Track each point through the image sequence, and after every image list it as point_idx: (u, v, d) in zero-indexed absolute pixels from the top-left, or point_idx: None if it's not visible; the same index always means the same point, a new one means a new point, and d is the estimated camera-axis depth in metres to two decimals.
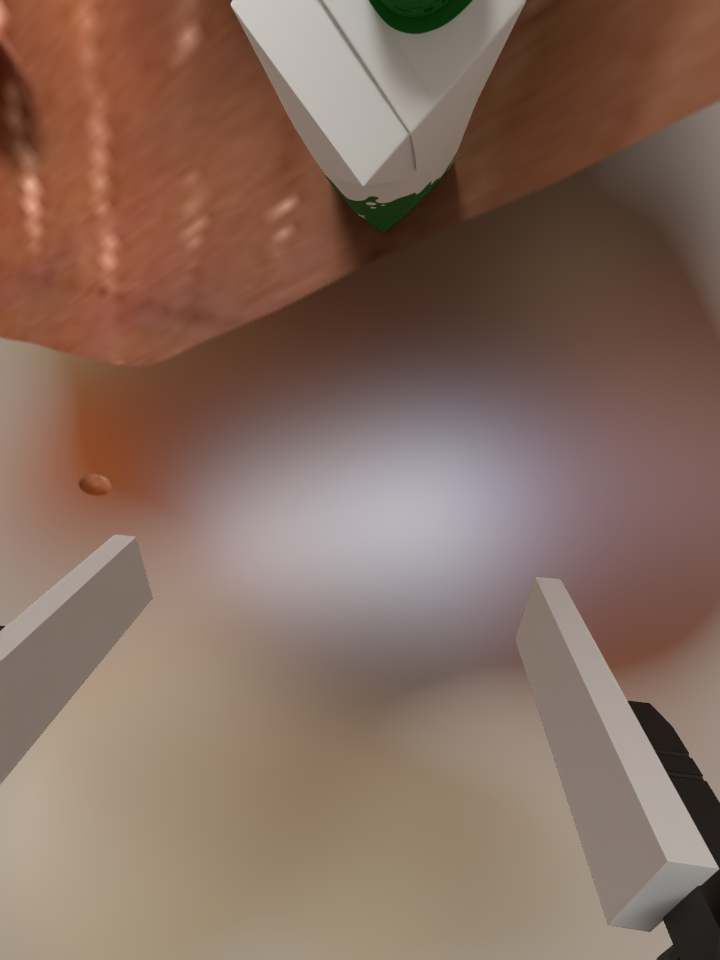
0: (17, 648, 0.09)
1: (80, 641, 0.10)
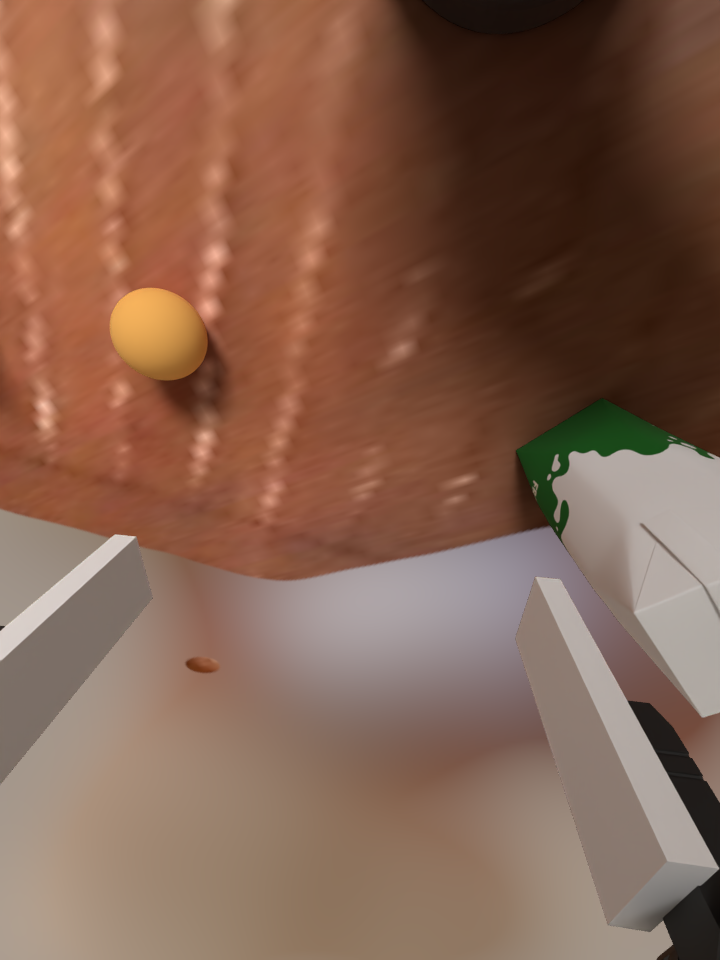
0: (17, 648, 0.09)
1: (80, 641, 0.10)
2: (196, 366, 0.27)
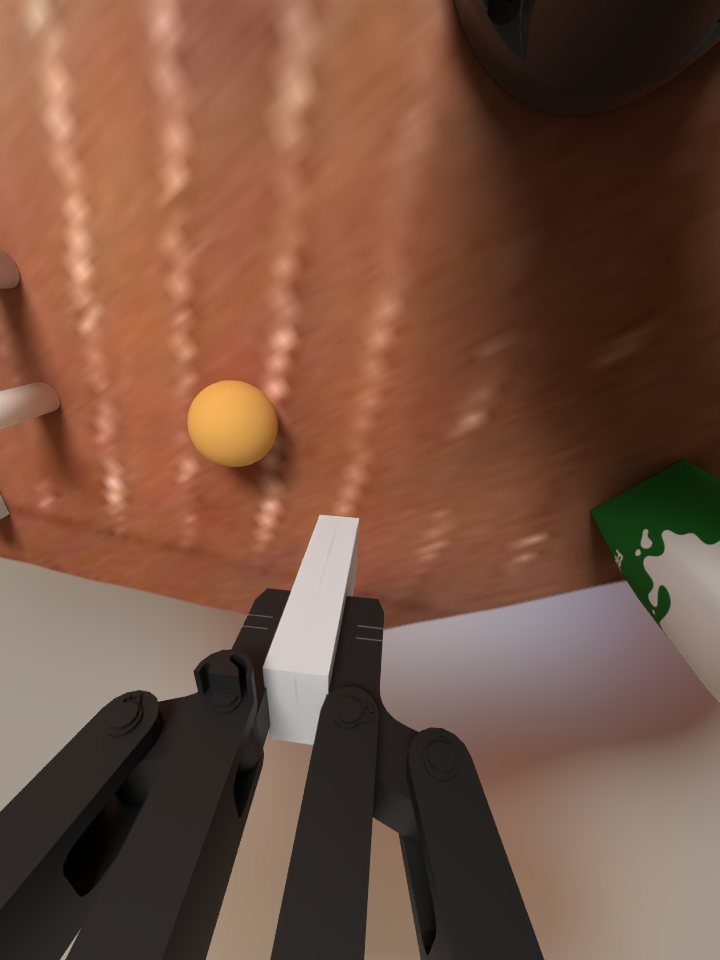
0: None
1: None
2: (268, 450, 0.27)
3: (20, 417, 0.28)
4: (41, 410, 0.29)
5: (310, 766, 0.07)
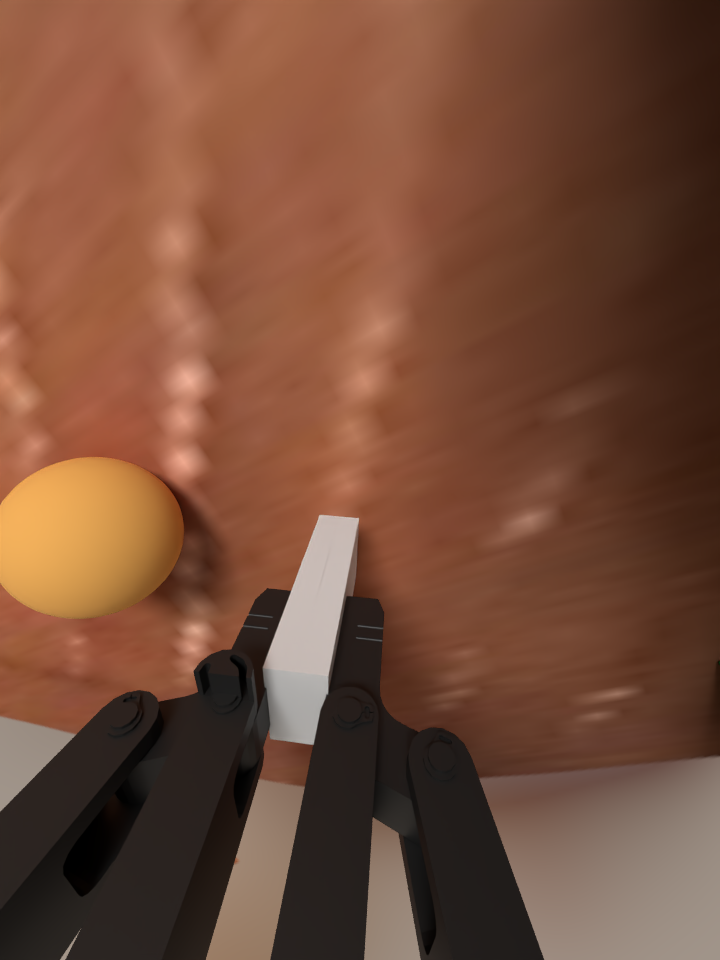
0: None
1: None
2: (164, 579, 0.15)
3: None
4: None
5: (310, 766, 0.07)
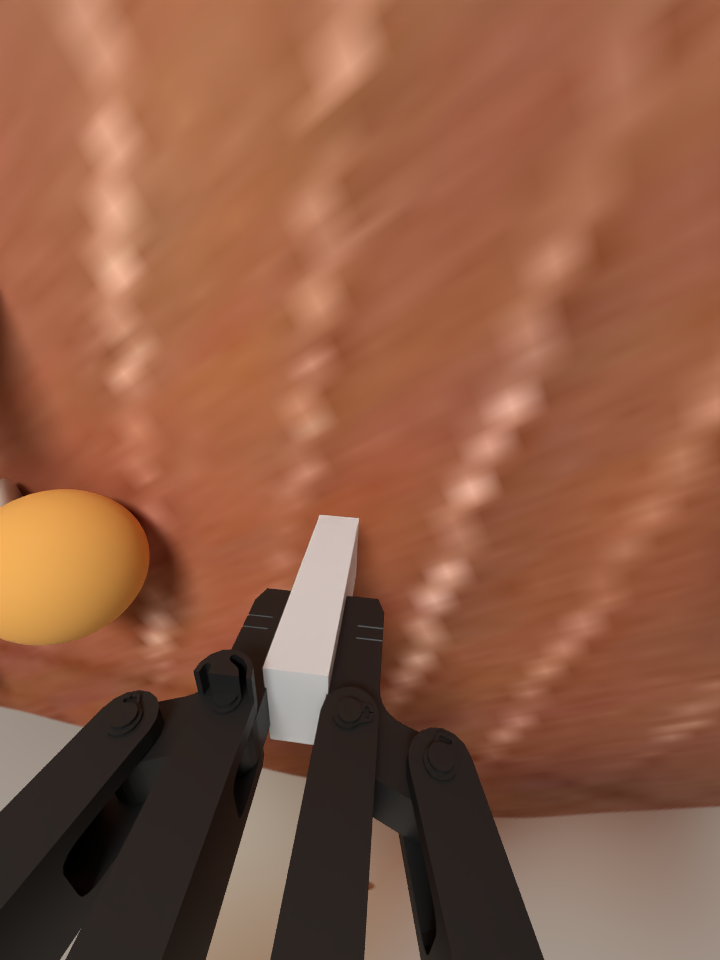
0: None
1: None
2: None
3: None
4: None
5: (310, 766, 0.07)
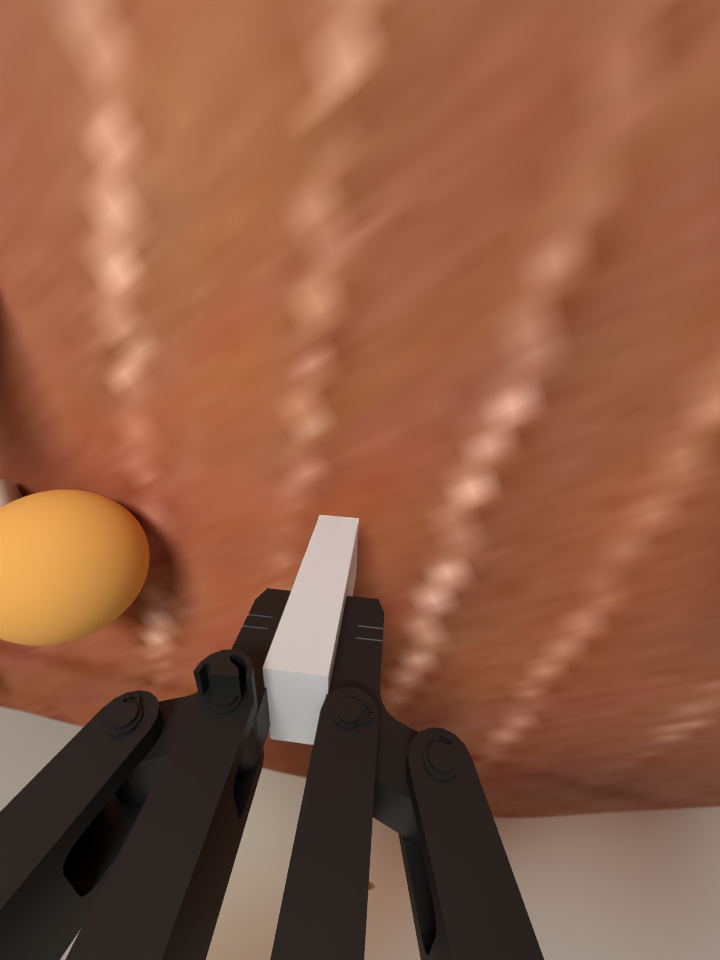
0: None
1: None
2: None
3: None
4: None
5: (310, 766, 0.07)
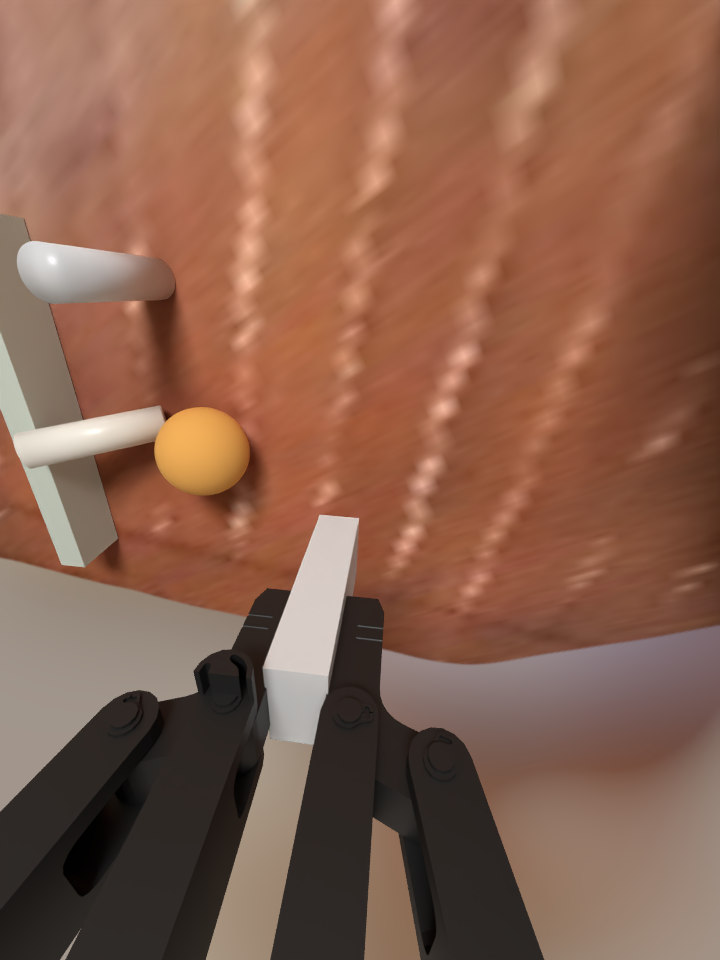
0: None
1: None
2: None
3: (114, 447, 0.26)
4: (142, 441, 0.26)
5: (310, 766, 0.07)
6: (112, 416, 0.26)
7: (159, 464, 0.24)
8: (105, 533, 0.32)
